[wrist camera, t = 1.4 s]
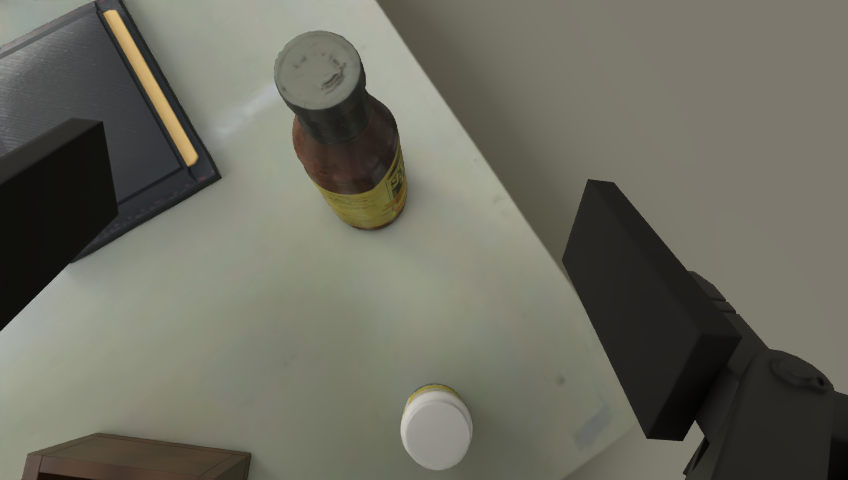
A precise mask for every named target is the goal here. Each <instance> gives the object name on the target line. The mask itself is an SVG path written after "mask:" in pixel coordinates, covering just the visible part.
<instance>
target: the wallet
mask: <svg viewBox="0 0 848 480" xmlns="http://www.w3.org/2000/svg"><path fill="white" fill-rule="evenodd" d="M71 117H74V118H83V119H91V120H99V121H103V124H104V130H105V136H106V142H107V148H108V154H109V159H110V165H111V171H112V177H113V183H114V189H115V195H116V200H117V206H118V212H119V215H118V216H117V217H116V218H115V219H114V220H113V221H112V222H111V223H110V224H109V225H108V226H107V227H106V228H105V229H104V230H103V231H102V232H101V233H100V234H99V235H98V236H97V237H96V238H94V239H93V240H92V241H91V242H90V243H89V244H88V245H87V246H86V247H85V248H84V249H83V250H82V251H81V252H80V253H79V254H78V255H77V256H76V257H75V258H74V259H73V260H72V261H71V262H70V263H73V262H75V261H77V260H79V259H80V258H82V257H84V256H86V255H88V254H90V253H92V252H94V251H96V250H97V249H99V248H101V247H102V246H104V245H106V244H107V243H109V242H111V241H112V240H114V239H116V238H117V237H119V236H121V235H123V234H124V233H126V232H128V231H129V230H131V229H133V228H134V227H136V226H138V225H139V224H141V223H143V222H145V221H146V220H148V219H150V218H152V217H154V216H155V215H157V214H159V213H161V212H163V211H164V210H166V209H168V208H170V207H171V206H173V205H175V204H177V203H179V202H180V201H182V200H184V199H186V198H188V197H189V196H191V195H193V194H194V193H196V192H198V191H199V190H201V189H203V188H204V187H206V186H208V185H209V184H211V183H213V182H215V181H216V180H218V179H220V178H221V176H220V174H219V172H218V170H217V168H216V166H215V164H214V162H213V160H212V158H211V156H210V154H209V153H208V151H207V149H206V148H205V146H204V145H203V143H202V141H201V140H200V138H199V137H198V135H197V133H196V132H195V130H194V128H193V126H192V124H191V123H190V121H189V119H188V117H187V116H186V114H185V112H184V110H183V109H182V107H181V105H180V103H179V101H178V100H177V98H176V96H175V94H174V93H173V91H172V89H171V87H170V86H169V84H168V82H167V80H166V78H165V77H164V75H163V73H162V71H161V70H160V68H159V66H158V64H157V63H156V61H155V59H154V57H153V55H152V54H151V52H150V50H149V48H148V47H147V45H146V43H145V41H144V39H143V38H142V36H141V34H140V32H139V31H138V29H137V27H136V25H135V24H134V22H133V20H132V18H131V16H130V15H129V13H128V11H127V9H126V8H125V6H124V4H123V2H122V0H95V1H93V2H91V3H88V4H86V5H84V6H81V7H79V8H77V9H75V10H73V11H71V12H69V13H67V14H65V15H63V16H61V17H59V18H57V19H55V20H53V21H51V22H49V23H47V24H45V25H43V26H41V27H39V28H37V29H35V30H33V31H31V32H29V33H27V34H25V35H23V36H21V37H19V38H17V39H15V40H13V41H11V42H9V43H7V44H5V45H3V46H1V47H0V157H1V156H3V155H5V154H6V153H8V152H10V151H12V150H14V149H15V148H17V147H19V146H21V145H23V144H24V143H26V142H28V141H30V140H32V139H33V138H35V137H37V136H39V135H41V134H42V133H44V132H46V131H48V130H50V129H51V128H53V127H55V126H57V125H59V124H60V123H62V122H64V121H66V120H68V119H69V118H71Z"/></svg>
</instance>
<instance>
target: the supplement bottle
mask: <svg viewBox="0 0 848 480" xmlns="http://www.w3.org/2000/svg"><path fill="white" fill-rule="evenodd" d="M400 431H401V438H402V442H403V445H404V447H405V449H406V450H407V452H408V453H409V455H410V456H411V457H412V458H413V459H414V460H415V461H416V462H417V463H419V464H420V465H421V466H423V467H425V468H428V469H431V470H445V469H448V468H451V467H453V466H455V465H456V464H458V463H459V462H460V461H461V460H462V459H463V457H464V456H465V454H466V453H467V450H468V448H469V445H470V442H471V439H472V434H473V424H472V419H471V415H470V413H469V411H468V409H467V407H466V406H465V404H464V402H463V401H462V399H461V398H460V396H459V395H458V394H457V393H456V392H455V391H454V390H453V389H451V388H449V387H448V386H445V385H442V384H428V385H424V386H422V387H420V388H418V389H417V390H416V391H414V392H413V393H412V395H411V396H410V397H409V399H408V401H407V403H406V405H405V408H404V413H403V417H402V421H401V428H400Z"/></svg>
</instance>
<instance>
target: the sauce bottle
mask: <svg viewBox="0 0 848 480" xmlns="http://www.w3.org/2000/svg"><path fill="white" fill-rule="evenodd" d="M274 79H275V83H276V86H277V89H278V91H279V93H280V95H281V97H282V98H283V100H284V101H285V103H286V104H287V106H288V107H289V108H290V109H291V110H292V111H293V112H294V113H295V119H294V122H293V131H292V136H293V145H294V149H295V151H296V153H297V156H298V159H299V160H300V161H301V163H302V164H303V165H304V168H305V170H306V172H307V174H308V176H309V177H310V178H311V180H312V181H313V183H314V184H315V185H316V187H317V188H318V189H319V191H320V192H321V194H322V195H323V197H324V198H325V199H326V201H327V202H328V204H329V205H330V206H331V208H332V209H333V210H334V212H335V213H336V214H337V215H338V216H339V218H341V219H342V220H343V221H344V222H346V223H348V224H349V225H351V226H352V227H354V228H357V229H363V230H376V229H380V228H383V227H385V226H387V225H389V224H390V223H392V222H393V221H394V220H395V219H396V218H397V217H398V215H399V214H400V213H401V212H402V210H403V206H404V203H405V200H406V196H407V182H406V176H405V170H404V162H403V156H402V150H401V146H400V139H399V133H398V128H397V124H396V121H395V119H394V117H393V115H392V113H391V112H390V110H389V109H388V108H387V107H386V106H385V105H384V104H382V103H381V102H380V101H378V100H377V99H376V98H374V97H373V96H371V95H370V94H368V92H367V91H366V89H365V86H366V75H365V72H364V68H363V64H362V62H361V59H360V56H359V54H358V52H357V50H356V49H355V48H354V46H353V45H352V44H351V43H350V42H349V41H347V40H346V39H345V38H344V37H342V36H340V35H337V34H335V33H331V32H327V31H309V32H306V33H304V34H301V35H299V36H297V37H295V38H293V39H292V40H291V41H290V42H288V43H287V44H286V45H285V46H284V48H283V50H282V51H281V52H280V53H279V54H278V58H277V59H276V62H275V67H274Z"/></svg>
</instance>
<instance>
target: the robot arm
mask: <svg viewBox="0 0 848 480" xmlns="http://www.w3.org/2000/svg"><path fill="white" fill-rule="evenodd" d="M118 215H119V212H118V206H117V200H116V195H115V189H114V183H113V177H112V171H111V165H110V159H109V154H108V148H107V142H106V136H105V130H104V124H103V121H99V120H91V119H83V118H74V117H71V118H69V119H68V120H66V121H64V122H62V123H60V124H59V125H57V126H55V127H53V128H51V129H50V130H48V131H46V132H44V133H42V134H41V135H39V136H37V137H35V138H33V139H32V140H30V141H28V142H26V143H24V144H23V145H21V146H19V147H17V148H15V149H14V150H12V151H10V152H8V153H6V154H5V155H3V156H1V157H0V331H1V330H2V329H3V328H4V327H5V326H6V325H7V324H8V323H9V322H10V321H11V320H12V319H13V318H14V317H15V316H16V315H17V314H18V313H19V312H20V311H22V310H23V309H24V308H25V307H26V306H27V305H28V304H29V303H30V302H31V301H32V300H33V299H34V298H35V297H36V296H37V295H38V294H39V293H40V292H41V291H42V290H43V289H44V288H45V287H46V286H47V285H48V284H49V283H50V282H51V281H52V280H53V279H54V278H55V277H56V276H57V275H58V274H59V273H60V272H61V271H62V270H63V269H64V268H65V267H66V266H67V265H68V264H69V263H70V262H71V261H72V260H73V259H74V258H75V257H76V256H77V255H78V254H79V253H80V252H81V251H82V250H83V249H84V248H85V247H86V246H87V245H88V244H89V243H90V242H91V241H92V240H93V239H94V238H96V237H97V236H98V235H99V234H100V233H101V232H102V231H103V230H104V229H105V228H106V227H107V226H108V225H109V224H110V223H111V222H112V221H113V220H114V219H115V218H116V217H117V216H118ZM562 262H563V264H564V266H565V268H566V270H567V272H568V275H569V277H570V279H571V281H572V283H573V285H574V287H575V289H576V291H577V293H578V296H579V298H580V300H581V302H582V304H583V306H584V308H585V310H586V312H587V314H588V317H589V319H590V321H591V323H592V325H593V327H594V329H595V331H596V333H597V335H598V338H599V340H600V342H601V344H602V346H603V348H604V350H605V352H606V354H607V356H608V358H609V361H610V363H611V365H612V367H613V369H614V371H615V373H616V375H617V377H618V379H619V382H620V384H621V386H622V388H623V390H624V392H625V394H626V396H627V398H628V400H629V403H630V405H631V407H632V409H633V411H634V413H635V415H636V417H637V419H638V421H639V423H640V426H641V428H642V430H643V432H644V434H645V436H646V438H647V439H660V440H673V441H683V440H684V438H685V436H686V434H687V433H688V431H689V429H690V427H691V426H692V424H693V422H694V421H695V420H696V422H697V424H698V425H699V427H700V429H701V430H702V432H703V434H704V436H705V437H704V438H703V440H702V442H701V443H700V445H699V447H698V448H697V450H696V452H695V453H694V455H693V457H692V458H691V460H690V462H689V463H688V465H687V467H686V468H685V470H684V472H683V474H684V475H686V478H685V480H848V395H846V394H842V393H839V392H836V391H834V388H833V385H832V384H831V382H830V381H829V380H828V379H827V377H826V376H825V375H824V374H823V373H821V372H820V371H819V370H817V369H816V368H815V367H814V366H813V365H811V364H809V363H807V362H806V361H804V360H802V359H800V358H799V357H797V356H794V355H791V354H789V353H786V352H783V351H779V350H772V349H769V348H768V347H767V346H766V345H765V344H764V343H763V341H762V340H761V339H760V338H759V337H758V336H757V334H755V332H754V331H753V330H752V329H751V328H750V326H749V325H748V324H747V323H746V322H745V321H744V320H743V318H742V317H741V316H740V315H739V314H736V311H735V309H734V308H733V307H732V306H731V305H730V304H729V303H728V302H726V299H725V298H724V297H723V296H722V294H721V293H720V292H719V291H718V290H717V289H716V287H715V286H714V285H713V284H711V283H710V282H708V281H707V280H705V279H704V278H703V277H701V276H700V275H698V274H697V273H695V272H693V271H687V270H686V269H685V267H684V266H683V265H682V264H681V263H680V261H679V260H678V259H677V258H676V257H675V256H674V254H673V253H672V252H671V251H670V249H669V248H668V247H667V246H666V245H665V244H664V242H663V241H662V240H661V239H660V237H659V236H658V235H657V234H656V233H655V231H654V230H653V229H652V228H651V227H650V225H649V224H648V223H647V222H646V221H645V219H644V218H643V217H642V216H641V215H640V214H639V212H638V211H637V210H636V209H635V207H634V206H633V205H632V204H631V203H630V201H629V200H628V199H627V198H626V197H625V195H624V194H623V193H622V192H621V191H620V190H619V188H618V187H617V186H616V185H615V183H613V182H607V181H598V180H590V179H588V181H587V184H586V187H585V190H584V193H583V196H582V199H581V202H580V205H579V209H578V212H577V215H576V218H575V221H574V224H573V227H572V231H571V233H570V237H569V240H568V243H567V246H566V249H565V252H564V255H563V258H562Z"/></svg>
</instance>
